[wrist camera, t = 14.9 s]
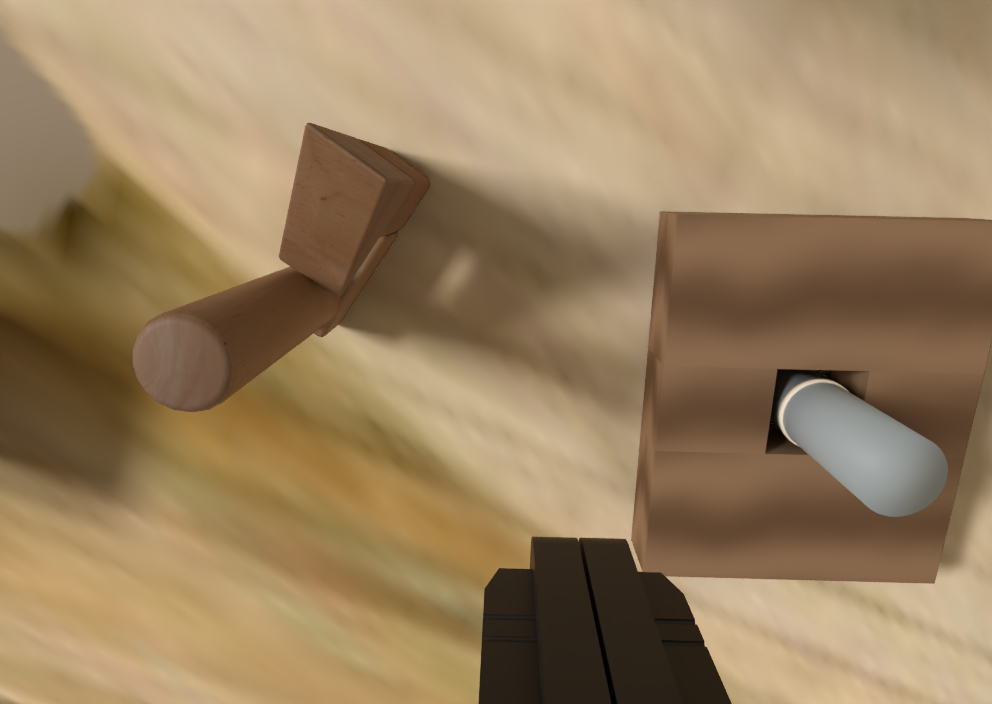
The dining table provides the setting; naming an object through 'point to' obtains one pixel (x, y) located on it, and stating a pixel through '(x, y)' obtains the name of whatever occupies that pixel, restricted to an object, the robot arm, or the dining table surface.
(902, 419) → the socket block
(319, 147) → the brown wedge-headed part
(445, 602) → the dining table surface
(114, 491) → the dining table surface
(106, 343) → the dining table surface
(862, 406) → the peg
